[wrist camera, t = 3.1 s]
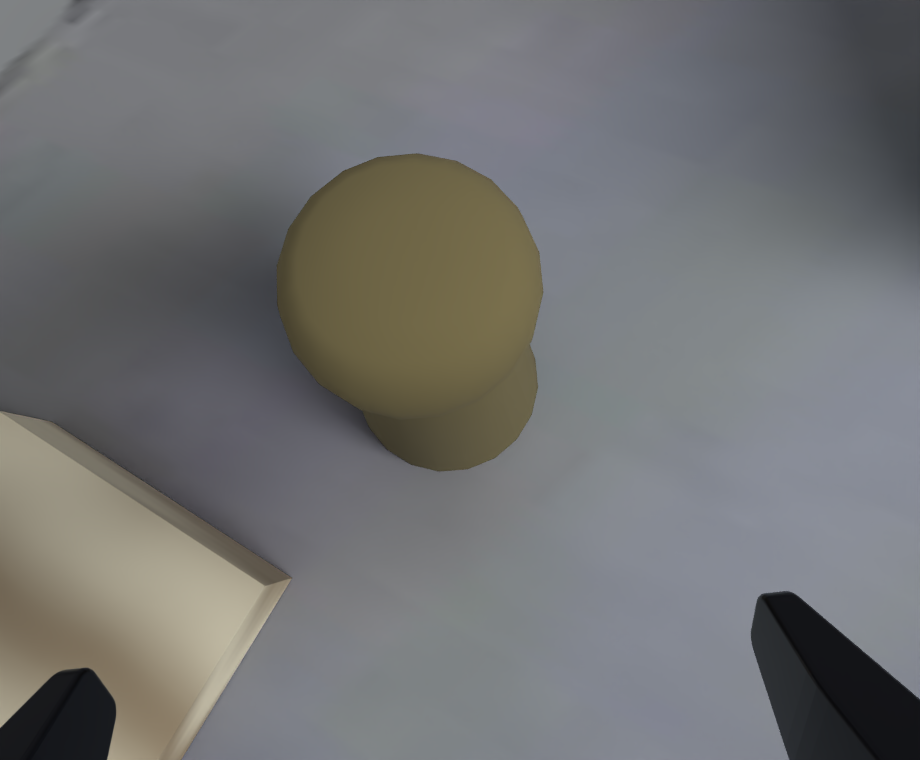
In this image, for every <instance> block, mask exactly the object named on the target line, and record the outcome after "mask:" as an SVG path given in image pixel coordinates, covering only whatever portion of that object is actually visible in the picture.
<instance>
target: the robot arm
mask: <svg viewBox="0 0 920 760" xmlns="http://www.w3.org/2000/svg"><path fill="white" fill-rule="evenodd" d="M751 641H752V646H753V650H754V653H755V656H756V659H757V663H758V666H759V669H760V672H761V675H762V678H763V681H764V684H765V687H766V690H767V693H768V696H769V699H770V702H771V705H772V709H773V712H774V715H775V718H776V721H777V724H778V727H779V730H780V733H781V736H782V739H783V742H784V745H785V748H786V751H787V754H788V757H789V760H920V699H919V698H918V697H916V696H915V695H914V694H913V693H912V692H911V691H909V690H908V689H907V688H906V687H905V686H903V685H902V684H901V683H900V682H899V681H898V680H896V679H895V678H894V677H893V676H892V675H891V674H889V673H888V672H887V671H886V670H885V669H883V668H882V667H881V666H880V665H879V664H878V663H876V662H875V661H874V660H873V659H872V658H870V657H869V656H868V655H867V654H866V653H865V652H863V651H862V650H861V649H860V648H859V647H858V646H856V645H855V644H854V643H853V642H852V641H850V640H849V639H848V638H847V637H846V636H845V635H843V634H842V633H841V632H840V631H839V630H837V629H836V628H835V627H834V626H833V625H832V624H830V623H829V622H828V621H827V620H826V619H825V618H823V617H822V616H821V615H820V614H819V613H817V612H816V611H815V610H814V609H813V608H812V607H810V606H809V605H808V604H807V603H806V602H804V601H803V600H802V599H801V598H800V597H799V596H797V595H796V594H794V593H792V592H788V591H782V592H773V593H764V594H761V595H760V596H759V597H758V599H757V603H756V608H755V613H754V618H753V623H752V629H751ZM115 721H116V703H115V700H114V698H113V696H112V695H111V694H110V692H109V691H108V689H107V688H106V687H105V685H104V684H103V683H102V681H101V680H100V678H99V677H98V676H97V674H96V673H95V672H94V671H93V670H92V669H90V668H86V667H85V668H75V669H66V670H62V671H59V672H57V673H56V674H54V675H53V676H52V677H51V678H49V679H48V680H47V681H46V682H45V683H44V684H43V685H42V686H41V687H40V688H39V689H38V690H37V691H36V692H35V693H34V694H33V695H32V696H31V697H30V698H29V699H28V700H27V701H26V702H25V703H24V704H23V705H22V706H21V707H20V708H19V709H18V710H17V711H16V712H15V713H14V714H13V715H12V716H11V717H10V718H9V719H8V720H7V721H6V722H5V723H4V724H3V725H2V726H1V727H0V760H107V759H108V754H109V749H110V745H111V740H112V735H113V730H114V725H115Z"/></svg>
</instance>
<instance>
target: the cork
mask: <svg viewBox="0 0 920 760" xmlns="http://www.w3.org/2000/svg"><path fill="white" fill-rule="evenodd" d="M542 295H543V285H542V275H541V265H540V255H539V251H538V249H537V247H536V244H535V242H534V240H533V238H532V236H531V234H530V231H529V229H528V227H527V225H526V223H525V221H524V218H523V216H522V215H521V213H520V211H519V209H518V207H517V206H516V205H515V204H514V203H513V202H512V201H511V200H510V199H509V198H508V197H507V196H506V195H505V194H504V193H503V192H502V191H501V189H500V188H499V187H498V186H497V185H496V184H495V183H494V182H493V181H492V180H491V179H489V178H487V177H485V176H484V175H482V174H480V173H478V172H476V171H474V170H472V169H471V168H469V167H467V166H465V165H463V164H461V163H459V162H458V161H454V160H449V159H444V158H439V157H433V156H428V155H423V154H406V155H396V156H386V157H377V158H374V159H372V160H369V161H367V162H364V163H362V164H359V165H357V166H354V167H352V168H349V169H347V170H344V171H343V172H341V173H340V174H339V175H338V176H336V177H335V178H334V179H333V180H331V181H330V182H329V183H327V184H326V185H325V186H324V187H322V188H321V189H320V190H319V191H317V192H316V193H315V194H314V195H312V196H311V197H310V199H309V200H308V201H307V203H306V204H305V206H304V207H303V209H302V210H301V212H300V213H299V214H298V216H297V217H296V219H295V220H294V222H293V223H292V224H291V226H290V227H289V229H288V232H287V235H286V238H285V241H284V244H283V248H282V251H281V254H280V257H279V260H278V264H277V306H278V309H279V313H280V317H281V319H282V322H283V325H284V328H285V331H286V333H287V336H288V339H289V342H290V344H291V347H292V350H293V353H294V354H295V355H296V356H297V357H298V359H299V360H300V361H301V362H302V364H303V365H304V366H305V367H306V369H307V370H308V371H309V372H310V373H311V375H312V376H313V377H314V378H315V380H316V381H317V382H318V383H319V384H320V385H321V386H323V387H324V388H326V389H328V390H329V391H331V392H332V393H334V394H336V395H337V396H339V397H340V398H342V399H344V400H345V401H347V402H348V403H350V404H352V405H353V406H355V407H356V408H358V409H360V410H362V411H363V414H364V416H365V419H366V421H367V424H368V426H369V428H370V429H371V431H372V432H373V433H374V434H375V435H376V437H377V438H378V439H379V440H380V442H381V443H382V444H383V445H384V446H385V448H386V449H387V450H389V451H390V452H392V453H393V454H395V455H397V456H398V457H400V458H401V459H403V460H405V461H406V462H408V463H409V464H411V465H415V466H419V467H423V468H427V469H431V470H435V471H451V470H464V469H469V468H472V467H474V466H477V465H479V464H482V463H484V462H486V461H489V460H491V459H494V458H495V457H497V456H498V455H499V454H500V453H501V452H502V451H504V450H505V449H506V448H507V447H508V446H509V445H511V444H512V443H513V442H514V441H515V440H516V439H517V438H518V436H519V435H520V433H521V431H522V430H523V428H524V426H525V425H526V423H527V421H528V420H529V418H530V417H531V415H532V411H533V406H534V402H535V398H536V393H537V389H538V383H537V373H536V363H535V358H534V355H533V352H532V350H531V347H530V342H531V341H532V338H533V334H534V330H535V325H536V321H537V317H538V313H539V308H540V304H541V300H542Z"/></svg>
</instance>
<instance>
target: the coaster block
mask: <svg viewBox="0 0 920 760" xmlns="http://www.w3.org/2000/svg"><path fill="white" fill-rule="evenodd" d="M291 579H292V578H291V577H290V576H288V575H287V574H285V573H283V572H282V571H280V570H279V569H277V568H276V567H274V566H273V565H271V564H270V563H268V562H267V561H265V560H264V559H262V558H260V557H259V556H257V555H256V554H254V553H253V552H251V551H250V550H248V549H247V548H245V547H244V546H242V545H240V544H239V543H237V542H236V541H234V540H233V539H231V538H230V537H228V536H227V535H225V534H224V533H222V532H220V531H219V530H217V529H216V528H214V527H213V526H211V525H210V524H208V523H207V522H205V521H204V520H202V519H200V518H199V517H197V516H196V515H194V514H193V513H191V512H190V511H188V510H187V509H185V508H184V507H182V506H180V505H179V504H177V503H176V502H174V501H173V500H171V499H170V498H168V497H167V496H165V495H164V494H162V493H160V492H159V491H157V490H156V489H154V488H153V487H151V486H150V485H148V484H147V483H145V482H144V481H142V480H140V479H139V478H137V477H136V476H134V475H133V474H131V473H130V472H128V471H127V470H125V469H124V468H122V467H120V466H119V465H117V464H116V463H114V462H113V461H111V460H110V459H108V458H107V457H105V456H104V455H102V454H100V453H99V452H97V451H96V450H94V449H93V448H91V447H90V446H88V445H87V444H85V443H84V442H82V441H81V440H79V439H77V438H76V437H74V436H73V435H71V434H70V433H68V432H67V431H65V430H64V429H62V428H61V427H59V426H57V425H56V424H54V423H53V422H50V421H46V420H41V419H36V418H31V417H27V416H22V415H17V414H12V413H7V412H3V411H0V727H1V726H2V725H3V724H4V723H5V722H6V721H7V720H8V719H9V718H10V717H11V716H12V715H13V714H14V713H15V712H16V711H17V710H18V709H19V708H20V707H21V706H22V705H23V704H24V703H25V702H26V701H27V700H28V699H29V698H30V697H31V696H32V695H33V694H34V693H35V692H36V691H37V690H38V689H39V688H40V687H41V686H42V685H43V684H44V683H45V682H46V681H47V680H48V679H49V678H51V677H52V676H53V675H54V674H56V673H57V672H59V671H62V670H66V669H75V668H85V667H86V668H90V669H92V670H93V671H94V672H95V673H96V674H97V676H98V677H99V678H100V680H101V681H102V683H103V684H104V685H105V687H106V688H107V689H108V691H109V692H110V694H111V695H112V696H113V698H114V700H115V703H116V721H115V725H114V730H113V735H112V740H111V745H110V749H109V754H108V759H107V760H181V759H182V757H183V756H184V754H185V753H186V751H187V749H188V748H189V746H190V744H191V743H192V741H193V739H194V738H195V736H196V735H197V733H198V731H199V730H200V728H201V726H202V725H203V723H204V721H205V720H206V718H207V717H208V715H209V713H210V712H211V710H212V708H213V707H214V705H215V703H216V702H217V700H218V698H219V697H220V695H221V694H222V692H223V690H224V689H225V687H226V685H227V684H228V682H229V680H230V679H231V677H232V676H233V674H234V672H235V671H236V669H237V667H238V666H239V664H240V662H241V661H242V659H243V658H244V656H245V654H246V653H247V651H248V649H249V648H250V646H251V644H252V643H253V641H254V640H255V638H256V636H257V635H258V633H259V631H260V630H261V628H262V626H263V625H264V623H265V622H266V620H267V618H268V617H269V615H270V613H271V612H272V610H273V608H274V607H275V605H276V604H277V602H278V600H279V599H280V597H281V595H282V594H283V592H284V590H285V589H286V587H287V586H288V584H289V582H290V581H291Z"/></svg>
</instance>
